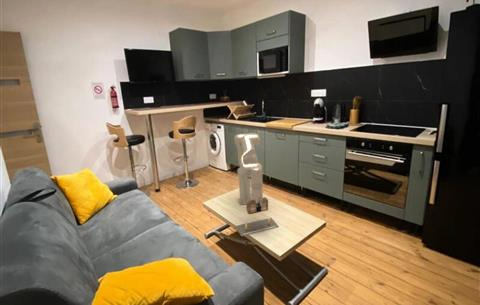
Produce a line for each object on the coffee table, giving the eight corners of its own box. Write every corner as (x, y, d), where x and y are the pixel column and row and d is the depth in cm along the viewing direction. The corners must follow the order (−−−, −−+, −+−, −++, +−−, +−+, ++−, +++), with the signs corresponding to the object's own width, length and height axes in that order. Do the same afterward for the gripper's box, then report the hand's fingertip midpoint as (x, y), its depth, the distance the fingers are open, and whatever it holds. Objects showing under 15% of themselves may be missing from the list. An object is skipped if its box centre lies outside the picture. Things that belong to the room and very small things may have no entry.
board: (235, 227, 169) (234, 219, 168) (271, 219, 178) (271, 211, 176) (241, 238, 157) (241, 229, 156) (279, 228, 166) (279, 220, 164)
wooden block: (246, 211, 162) (246, 201, 160) (265, 207, 166) (265, 197, 164) (248, 214, 158) (248, 203, 156) (268, 210, 162) (268, 199, 160)
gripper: (247, 181, 163) (248, 205, 168) (256, 191, 148) (257, 217, 153) (257, 179, 166) (257, 203, 171) (267, 188, 150) (267, 214, 155)
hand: (257, 209), depth 162 cm, fingers closed on wooden block, 4 cm apart
